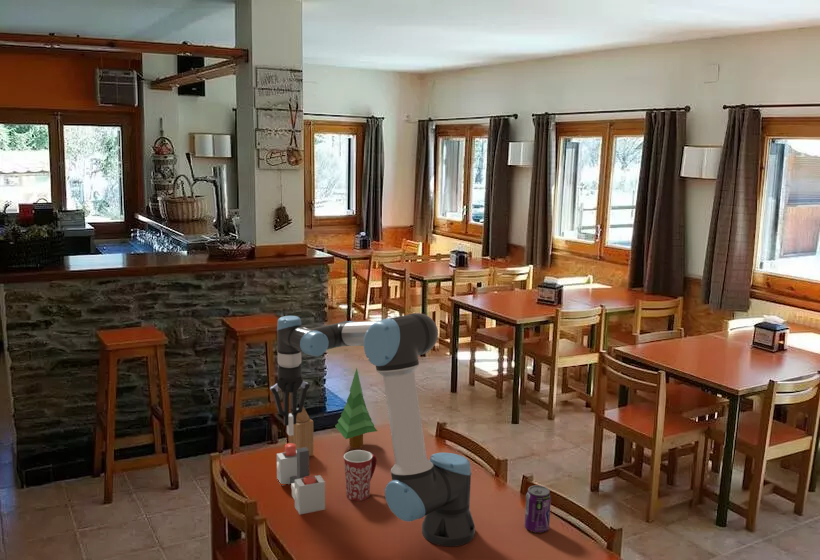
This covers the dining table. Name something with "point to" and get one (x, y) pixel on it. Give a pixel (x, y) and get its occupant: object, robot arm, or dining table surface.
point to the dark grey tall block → (301, 466)
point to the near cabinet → (309, 495)
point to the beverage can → (537, 508)
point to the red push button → (290, 449)
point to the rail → (292, 479)
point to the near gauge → (309, 480)
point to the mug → (359, 474)
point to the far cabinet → (286, 467)
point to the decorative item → (303, 432)
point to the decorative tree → (355, 416)
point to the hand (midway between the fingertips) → (290, 433)
